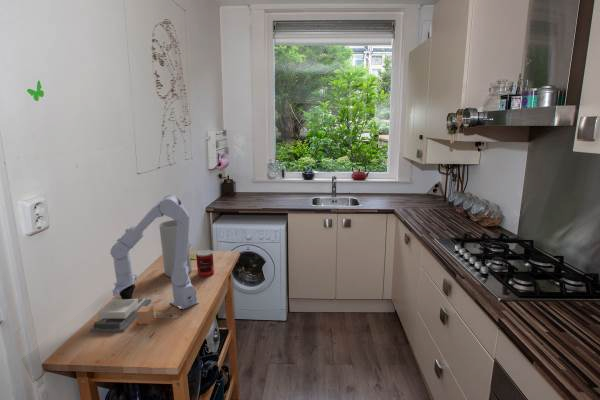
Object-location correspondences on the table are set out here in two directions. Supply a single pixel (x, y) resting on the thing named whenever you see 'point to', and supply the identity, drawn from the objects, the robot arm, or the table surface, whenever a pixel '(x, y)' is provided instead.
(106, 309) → the white shallow tray
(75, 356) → the table surface
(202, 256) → the canned food
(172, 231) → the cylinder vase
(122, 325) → the track
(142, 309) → the block
